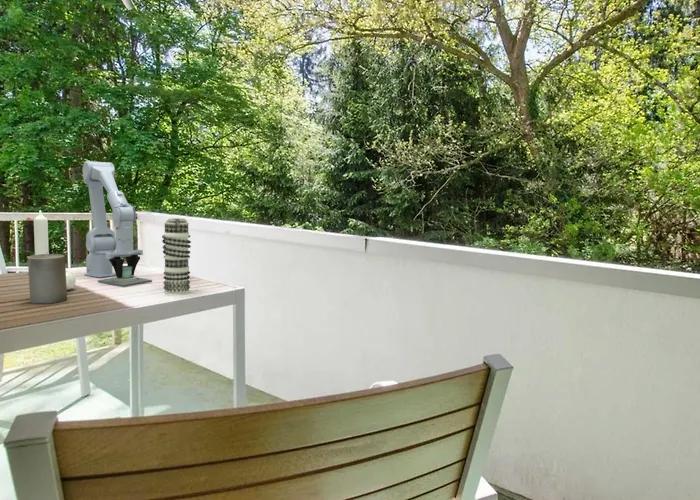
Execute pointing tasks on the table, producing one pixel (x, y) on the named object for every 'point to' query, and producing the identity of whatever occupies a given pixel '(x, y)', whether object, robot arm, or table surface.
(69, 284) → the lightbulb
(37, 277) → the pillar candle
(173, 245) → the decorative candle
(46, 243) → the candle
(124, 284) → the socket board
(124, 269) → the cup
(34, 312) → the table surface
